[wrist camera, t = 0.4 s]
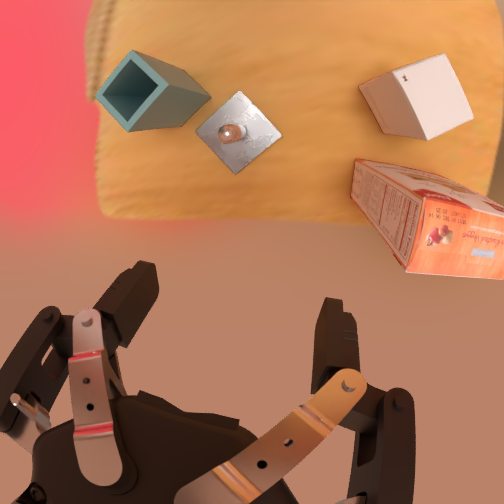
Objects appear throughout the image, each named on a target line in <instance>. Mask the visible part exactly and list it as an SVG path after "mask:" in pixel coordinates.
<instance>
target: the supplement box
mask: <svg viewBox="0 0 504 504" xmlns="http://www.w3.org/2000/svg"><path fill="white" fill-rule="evenodd" d="M359 89H360V91H361V92H362V94H363V96H364V97H365V99H366V101H367V103H368V105H369V106H370V108H371V110H372V112H373V114H374V116H375V118H376V120H377V121H378V123H379V125H380V127H381V129H382V131H383V133H384V134H391V135H398V136H404V137H410V138H416V139H422V140H427V141H428V140H431V139H433V138H435V137H437V136H439V135H441V134H443V133H445V132H447V131H449V130H451V129H453V128H455V127H457V126H459V125H461V124H463V123H465V122H467V121H469V120H471V119H473V118H474V116H473V114H472V111H471V108H470V106H469V103H468V101H467V98H466V96H465V94H464V91H463V89H462V87H461V85H460V83H459V80H458V78H457V76H456V74H455V72H454V70H453V68H452V66H451V64H450V62H449V60H448V58H447V56H446V54H444V53H443V54H439V55H435V56H432V57H429V58H426V59H422V60H419V61H416V62H414V63H411V64H408V65H405V66H403V67H400V68H398V69H395V70H393V71H390V72H388V73H386V74H384V75H381V76H379V77H377V78H374V79H372V80H370V81H368V82H366V83H364V84H362V85H360V86H359Z"/></svg>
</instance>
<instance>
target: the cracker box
mask: <svg viewBox="0 0 504 504" xmlns="http://www.w3.org/2000/svg"><path fill="white" fill-rule="evenodd" d="M351 199H352V200H353V201H354V202H355V204H356V205H357V206H358V207H359V209H360V210H361V211H362V213H363V214H364V215H365V216H366V218H367V219H368V220H369V222H370V223H371V224H372V226H373V227H374V228H375V230H376V231H377V232H378V234H379V235H380V236H381V238H382V239H383V240H384V242H385V243H386V245H387V246H388V247H389V249H390V250H391V252H392V253H393V255H394V256H395V258H396V259H397V261H398V262H399V263H400V265H401V266H402V268H403V269H404V271H405V272H409V273H420V274H433V275H447V276H459V277H472V278H487V279H501V280H504V207H503V206H501V205H499V204H498V203H496V202H494V201H492V200H490V199H489V198H487V197H485V196H483V195H481V194H479V193H477V192H475V191H473V190H471V189H469V188H467V187H465V186H463V185H460V184H458V183H456V182H454V181H452V180H450V179H447V178H445V177H443V176H440V175H436V174H432V173H428V172H424V171H420V170H415V169H411V168H406V167H402V166H397V165H392V164H387V163H381V162H375V161H369V160H362V159H355V167H354V175H353V183H352V190H351Z"/></svg>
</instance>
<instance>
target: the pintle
mask: <svg viewBox="0 0 504 504" xmlns="http://www.w3.org/2000/svg"><path fill="white" fill-rule="evenodd" d="M195 132H196V134H197V135H198V136H199V137H200V138H201V139H202V140H203V141H204V142H205V143H206V144H207V145H208V146H209V147H210V148H211V149H212V150H213V151H214V152H215V154H216V155H217V156H218V157H219V158H220V159H221V160H222V161H223V162H224V163H225V164H226V165H227V166H228V167H229V169H230V170H231V171H232V172H233V173H234V174H235V175H236V174H237V173H238V172H239V171H241V170H242V169H243V168H244V167H245V166H246V165H248V164H249V163H250V162H251V161H252V160H253V159H255V158H256V157H257V156H258V155H259V154H260V153H262V152H263V151H264V150H265V149H266V148H268V147H269V146H270V145H271V144H273V143H274V142H275V141H276V140H277V139H279V138H280V137H281V136H282V134H281V133H280V132H279V131H278V130H277V129H276V128H275V126H274V125H273V124H272V123H271V122H270V121H269V120H268V119H267V118H266V117H265V116H264V114H263V113H262V112H261V111H260V110H259V109H258V108H257V107H256V106H255V105H254V104H253V103H252V102H251V101H250V100H249V99H248V98H247V97H246V96H245V95H244V94H243V93H242V92H241V91H238V92H237V93H236V94H235V95H234V96H233V97H231V98H230V99H229V100H228V101H227V102H226V103H225V104H224V105H223V106H221V107H220V108H219V109H218V110H217V111H216V112H215V113H214V114H213V115H212V116H211V117H210V118H208V119H207V120H206V121H205V122H204V123H203V124H202V125H201V126H200V127H199V128H198V129H197V130H196V131H195Z"/></svg>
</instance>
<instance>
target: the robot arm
mask: <svg viewBox="0 0 504 504" xmlns="http://www.w3.org/2000/svg"><path fill="white" fill-rule="evenodd" d="M158 294H159V284H158V278H157V272H156V266H155V264H154V263H150V262H145V261H141V260H140V261H138V262H137V263H136V264H135V266H134V267H133V268H132V269H127V270H125V271H124V272H122V273H121V274H120V275H119V276H118V277H117V278H116V280H115V281H114V282H113V283H112V285H111V286H110V288H108V289H107V290H106V292H105V293H104V294H103V295H102V297H101V298H100V299H99V301H98V302H97V303H96V304H95V306H94V307H93V308H92V309H91V308H88V309H83V310H81V311H80V312H78V313H77V314H76V315H75V316H71V315H62V314H61V312H60V310H59V309H58V308H57V307H55V306H48V307H46V308H44V309H42V310H41V311H40V312H39V314H38V315H37V316H36V318H35V319H34V320H33V322H32V323H31V324H30V326H29V327H28V328H27V330H26V331H25V333H24V334H23V336H22V337H21V338H20V340H19V342H18V343H17V344H16V346H15V347H14V349H13V350H12V352H11V353H10V355H9V357H8V358H7V360H6V361H5V363H4V364H3V366H2V368H1V369H0V432H1V433H3V434H4V435H5V436H7V437H8V438H10V439H11V440H13V441H15V442H17V443H18V444H19V445H20V446H22V447H23V448H24V449H26V450H27V451H28V452H29V453H31V454H32V462H33V471H32V479H31V483H30V485H29V487H28V488H27V489H26V490H25V491H24V492H23V494H21V495H20V496H19V497H18V498H17V499H16V500H14V501H13V502H12V503H11V504H299V503H298V501H297V500H296V498H295V497H294V495H293V494H292V492H291V491H290V489H289V487H288V486H287V484H286V483H285V481H284V479H283V478H282V477H284V476H285V475H286V474H287V473H288V472H289V471H291V470H292V469H293V468H294V467H295V466H296V465H298V463H300V462H301V461H302V460H303V459H304V458H305V457H306V456H307V455H308V454H309V453H311V452H312V451H313V450H314V449H315V448H316V447H317V446H318V445H319V444H320V443H321V442H322V441H323V440H324V439H325V438H326V437H327V436H328V435H329V434H330V433H331V431H332V430H333V429H334V428H335V427H336V426H337V425H340V426H342V427H345V428H348V429H350V430H353V431H355V432H356V433H355V442H354V452H353V460H352V468H351V475H350V482H349V488H348V494H347V499H344V500H341V501H339V502H337V503H336V504H412V502H413V494H414V493H413V492H414V481H415V480H414V479H415V454H416V452H415V451H416V441H415V440H416V439H415V438H416V434H415V411H414V410H415V409H414V401H413V397H412V396H411V394H410V393H409V392H408V391H406V390H405V389H402V388H393V389H391V390H389V391H388V392H385V391H383V390H380V389H378V388H375V387H373V386H371V385H369V384H368V383H367V382H366V380H365V378H364V376H363V375H362V374H361V372H360V361H359V347H358V335H357V324H356V321H355V319H354V317H353V316H352V314H351V313H348V312H343V302H342V300H340V299H333V298H328V297H326V298H325V300H324V302H323V305H322V308H321V311H320V314H319V317H318V319H317V323H316V327H315V337H314V338H315V339H314V355H313V370H312V383H311V394H314V395H313V396H312V397H311V398H310V399H309V400H308V401H307V402H306V403H305V404H303V405H300V406H298V407H297V408H296V409H295V410H293V411H292V412H291V413H290V414H289V415H288V416H286V417H285V418H284V419H283V420H282V421H280V422H279V423H278V424H277V425H276V426H274V427H273V428H272V429H271V430H269V431H268V432H267V433H266V434H264V435H263V436H262V437H260V438H259V439H258V438H257V437H256V436H255V435H254V434H253V433H251V432H250V431H249V430H247V429H245V428H243V427H242V426H239V419H234V418H230V417H226V416H222V415H218V414H213V413H191V412H184V411H182V410H180V409H179V408H177V407H175V406H174V405H172V404H171V403H169V402H167V401H166V400H164V399H163V398H160V397H157V396H154V395H151V394H149V393H146V392H144V391H141V390H140V391H139V393H138V395H137V396H135V395H131V396H128V395H127V393H126V390H125V388H124V385H123V381H122V377H121V372H120V367H119V361H118V356H117V351H116V349H117V347H118V346H122V347H125V348H127V347H128V345H129V344H130V342H131V340H132V339H133V337H134V335H135V334H136V332H137V330H138V329H139V327H140V325H141V324H142V322H143V320H144V319H145V317H146V316H147V314H148V312H149V311H150V309H151V307H152V306H153V304H154V303H155V301H156V299H157V297H158ZM50 345H51V346H52V347H53V349H52V350H51V352H50V354H49V355H48V357H47V358H46V360H45V362H44V363H43V365H41V361H42V358H43V357H44V355H45V353H46V352H47V350H48V349H49V347H50ZM68 375H69V382H70V393H71V403H72V411H73V419H71V420H69V421H67V422H65V423H62V424H60V425H58V426H56V427H53V428H51V423H50V416H49V412H50V409H51V407H52V405H53V403H54V401H55V399H56V397H57V395H58V394H59V392H60V390H61V388H62V386H63V384H64V382H65V380H66V378H67V376H68Z"/></svg>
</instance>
